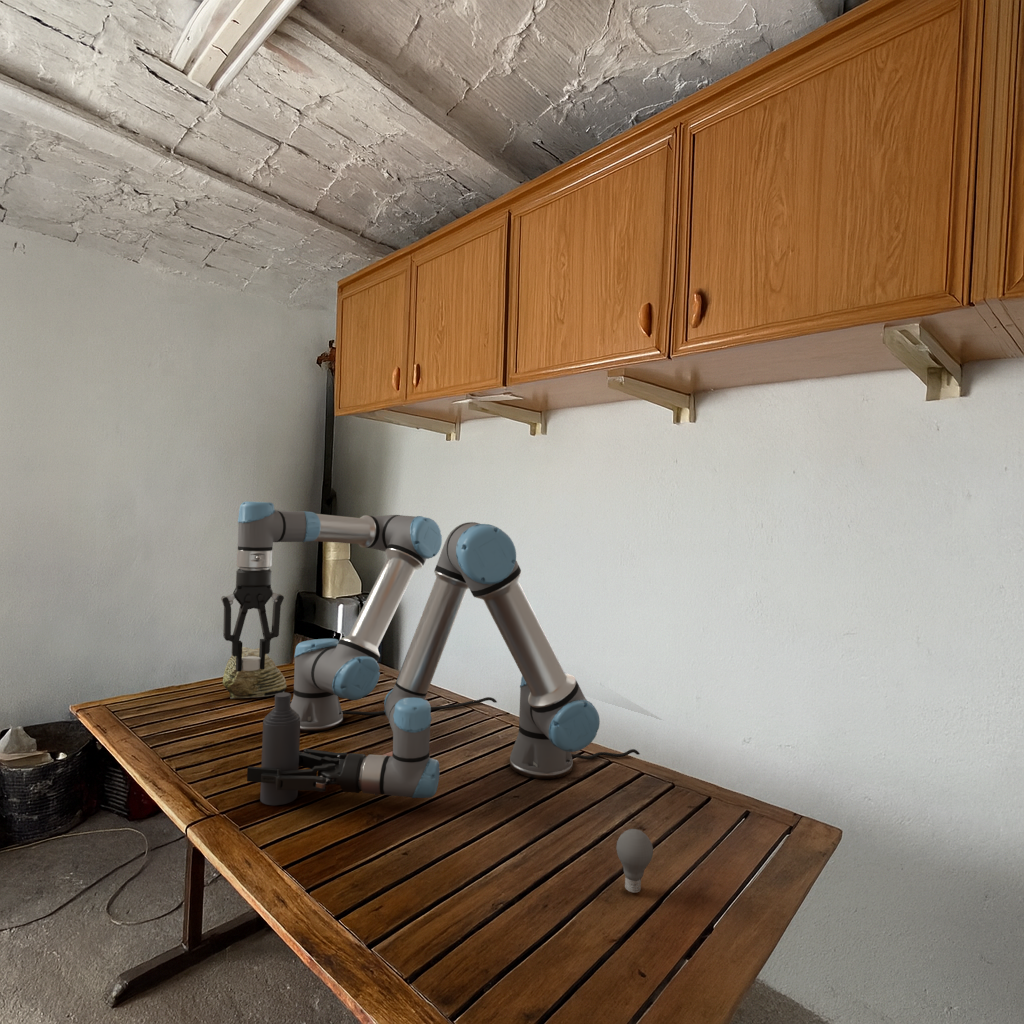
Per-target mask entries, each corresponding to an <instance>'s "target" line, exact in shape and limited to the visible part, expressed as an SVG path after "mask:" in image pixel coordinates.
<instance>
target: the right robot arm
mask: <svg viewBox="0 0 1024 1024" xmlns="http://www.w3.org/2000/svg"><path fill="white" fill-rule="evenodd" d="M516 550H517V549H516V546H515V543H514V541H513V539H512V538H511V537H510V535H508V534H507V533H506V532H505V531H504V530H502V529H501V528H499V527H498V526H495V525H493V524H488V523H479V522H473V521H469V522H464V523H461V524H459V525H457V526H456V527H454V528H453V529H452V530H451V531H450V532H449V534H447V537H446V539H445V541H444V544H443V546H442V548H441V551H440V555H439V557H438V560H437V563H436V565H435V568H434V571H433V573H434V575H435V576H436V577H435V580H434V583H433V585H432V588H431V590H430V593H429V596H428V597H427V601H426V603H425V606H424V609H423V611H422V614H421V616H420V618H419V621H418V624H417V626H416V629H415V632H414V634H413V636H412V640H411V642H410V644H409V647H408V650H407V651H406V655H405V657H404V659H403V662H402V664H401V668H400V670H399V673H398V675H397V678H396V680H395V683H394V685H393V688H392V689H391V690H389V691H388V692H387V694H386V696H385V697H384V710H385V714H384V715H385V716H386V718H387V720H388V722H389V726H390V728H391V731H392V751H393V756H385V755H384V754H368V755H366V754H364V753H354V752H353V753H351V752H350V753H347V752H333V751H325V750H319V749H310V748H305V749H303V751H299V770H291V771H281V768H278V769H275V768H262V767H261V766H247V769H246V770H247V771H246V782H251V783H253V782H254V783H261V782H263V783H276V790H298V791H309V792H311V791H313V792H314V791H315V792H319V793H324V792H326V791H327V787H328V786H332V785H339V786H340V789H341V790H342V792H344V793H350V794H360V793H361V792H362V793H363V794H368V795H374V796H375V797H378V796H393V797H402V798H403V797H404V798H411V799H430V798H433V797H434V796H435V795H436V793H437V791H438V789H439V788H438V787H439V784H440V783H439V782H440V773H441V772H440V770H441V769H440V762H439V760H437V759H434V758H432V757H431V756H430V742H431V723H432V718H433V717H432V712H431V711H432V710H431V707H432V706H431V704H430V702H429V701H428V700H427V699H426V697H427V695H428V691H429V688H430V686H431V684H432V681H433V679H434V675H435V673H436V670H437V668H438V666H439V663H440V661H441V658H442V656H443V653H444V651H445V647H446V645H447V642H448V640H449V637H450V634H451V632H452V630H453V627H454V625H455V622H456V619H457V618H458V617H457V616H458V614H459V611H460V610H461V607H462V605H463V601H464V599H465V596H466V594H467V591H468V590H469V591H470V593H471V595H472V596H473V597H474V598H476V599H479V600H482V601H483V603H484V605H485V606H486V608H487V610H488V612H489V615H490V616H491V618H492V621H493V622H494V624H495V625H496V627H497V629H498V631H499V634H500V635H501V637H502V640H503V641H504V642H505V645H506V647H507V648H508V650H509V653H510V655H511V656H512V658H513V661H514V663H515V664H516V667H517V668H518V670H519V672H520V674H521V679H520V685H519V688H520V691H519V713H518V715H519V716H518V732H517V736H516V739H515V742H514V744H513V746H512V750H511V752H510V756H509V766H510V768H511V769H512V770H513V771H514V772H516V773H517V774H520V775H521V776H525V777H527V778H531V779H532V778H533V779H537V780H538V779H539V780H542V779H543V780H551V779H558V778H559V779H560V778H562V777H565V776H568V775H569V774H570V773H571V772H572V771H573V765H574V763H573V762H574V761H573V759H574V758H575V759H580V760H581V759H583V760H593V759H595V758H597V757H600V756H601V757H602V756H605V757H613V758H623V757H626V756H628V755H631V754H632V753H633V754H635V755H638V756H639V755H641V753H640V752H639V751H638V749H635V748H631V749H629V750H627V751H625V752H622V753H614V752H607V751H599V752H596V753H593V754H591V755H583V754H576V753H574V752H579V751H581V750H583V749H585V748H587V747H588V746H589V745H590V744H592V742H593V741H594V740H595V738H596V736H597V734H598V731H599V729H600V725H601V724H600V722H601V721H600V715H599V711H598V709H597V708H596V707H595V705H594V704H593V703H592V702H591V701H589V700H588V699H587V698H586V697H585V695H584V693H583V691H582V689H581V687H580V685H579V683H578V681H577V679H576V676H574V675H573V674H569V673H567V672H565V670H564V669H563V667H562V664H561V662H560V660H559V659H558V656H557V654H556V653H555V650H554V648H553V646H552V644H551V642H550V641H549V639H548V636H547V635H546V632H545V631H544V629H543V627H542V625H541V623H540V621H539V619H538V616H537V614H536V612H535V611H534V609H533V607H532V605H531V603H530V601H529V599H528V597H527V595H526V593H525V590H524V589H523V587H522V585H521V583H520V579H521V575H522V573H523V572H522V569H521V566H520V565H519V563H518V561H517V551H516ZM302 767H304V768H305V769H304V768H303V769H300V768H302Z"/></svg>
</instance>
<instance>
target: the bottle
mask: <svg viewBox="0 0 1024 1024" xmlns="http://www.w3.org/2000/svg"><path fill="white" fill-rule="evenodd" d="M291 698H292V694H291V693H290V692H287V691H284V692H283V693H277V694H275V695H274V707H273V708H272V710H270V711H269V713H267V715H265V716H264V719H263V720H262V741H261V743H262V744H261V766H260V767H262V768H275V769H278V768H281V771H291V770H300V768H299V752H300V741H301V731H300V717H299V714H297V713H296V712H295V711H294V710H293V709H292V708H291V707H290V704H291V702H292V699H291ZM298 793H299V790H276V783H263V782H260V794H259V795H260V796H259V801H260V802H261V803H262V804H264V805H267V806H283V805H287V804H289V803H290V804H291V803H292V802H293V801H295V800H296V799H297V798H298V795H299V794H298Z"/></svg>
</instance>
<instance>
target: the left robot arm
mask: <svg viewBox="0 0 1024 1024" xmlns="http://www.w3.org/2000/svg"><path fill="white" fill-rule="evenodd" d="M237 523H238V525H237V527H238V528H237V550H236V551H237V553H236V567H238V569H237V570H236V574H235V589H234V591H233V593H231V594H227V595H222V596H221V597H220V600H221V602H222V605H223V629H222V631H223V634H222V636H223V638H224V640H225V641H227V642H231V655H233V657H236V670H237V671H238V672H240V671H241V667H242V647H243V641H242V640H240V639H241V635H242V631H243V629H244V624H245V621H246V618H247V615H248V612H249V610H253V609H255V610H257V611H258V615H259V616H258V618H259V622H260V628H261V633H262V638H259V647H258V648H259V657H260V658H261V662H260V669H264V668H265V654H267V655H269V654H270V652H271V641H272V639H274V638H278V637H279V635H280V622H281V607H282V603H283V602H284V599H285V598H284V597H285V596H284V595H283V594H281V593H276V592H274V591H273V589H272V572H273V571H272V570H271V568H272V565H273V547H274V543H308V542H323V543H337V544H352V545H353V544H355V545H358V546H359V548H363V549H371V550H378V551H382V552H385V555H386V560H385V562H384V564H383V565H382V568H381V570H380V572H379V573H378V576H377V578H376V579H375V581H374V583H373V586H372V588H371V590H370V592H369V594H368V596H367V598H366V600H365V602H364V604H363V606H362V607H361V610H360V612H359V614H358V616H357V618H356V619H355V621H354V624H353V625H352V627H351V630H350V631H349V633H348V635H346V636H344V637H343V636H342V637H341V638H340V639H337V638H318V639H308V640H304V641H300V642H299V643H297V645H296V646H295V650H294V655H293V657H294V672H293V673H294V674H293V695H292V696H293V697H292V699H291V701H290V707H291V708H292V709H293V710H294V711H295V712H296V713H297V714H299V717H300V733H316V732H325V731H329V730H332V729H335V728H337V727H339V726H340V725H342V723H343V722H344V715H352V716H353V715H354V716H367V717H368V716H381V715H386V714H385V709H384V710H380V711H358V710H343V709H342V706H341V702H340V699H339V698H341V699H342V700H343V699H344V700H348V701H349V700H350V701H358V700H361V699H363V698H366V697H367V696H368V695H370V694H371V693H372V691H373V690H374V689H375V688H376V686H377V684H378V682H379V680H380V676H381V672H380V669H381V668H380V665H379V660H380V657H381V654H380V652H379V646H380V645H381V642H382V641H383V638H384V636H385V634H386V632H387V630H388V628H389V626H390V623H391V621H392V619H393V618H394V615H395V614H396V611H397V609H398V607H399V605H400V603H401V601H402V599H403V596H404V594H405V592H406V590H407V588H408V586H409V584H410V582H411V579H412V578H413V576H414V574H415V572H416V571H419V570H421V569H423V567H424V565H425V563H426V561H427V560H429V559H432V558H434V557H436V556H437V555H438V554H439V552H440V550H441V549H442V543H443V536H442V533H441V532H442V530H441V528H440V527H439V525H438V523H437V522H436V521H435V520H434V519H432V518H431V517H426V516H422V515H416V516H415V515H401V514H388V515H387V514H385V515H367V514H365V515H364V514H363V515H362V516H360V517H354V516H353V517H352V516H344V515H343V516H342V515H334V514H324V513H323V514H322V513H315V512H313V511H306V510H297V511H296V510H285V509H275V504H274V503H273V502H269V501H242V502H241V504H240V505H239V510H238V518H237ZM270 599H271V602H272V617H271V629H270V626H269V620H268V617H267V610H266V604H267V603H268V602H269V601H270ZM234 600H236V602H237V603H238V604H239V609H238V614H237V617H236V621H235V625H234V629H233V631H232V605H233V604H234ZM270 630H271V631H270ZM473 701H474V702H473ZM486 701H491V702H493V703H495V704H496V703H498V701H497V700H496V698H494V697H490V696H489V697H487V696H486V697H483V698H480V699H474V700H470V701H465V702H461V703H460V702H459V703H455V704H448V705H437V706H431V711H437V710H439V711H440V710H448V709H455V708H461V707H465V706H470V705H474V704H475V705H476V704H480V703H483V702H486Z"/></svg>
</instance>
